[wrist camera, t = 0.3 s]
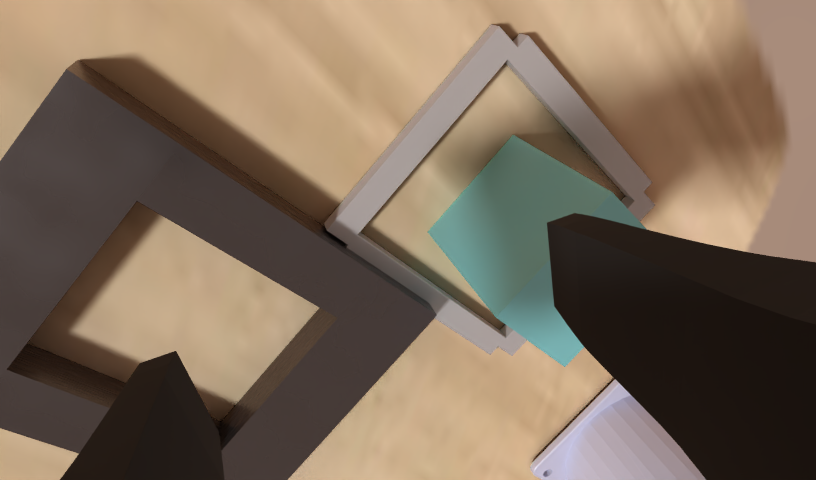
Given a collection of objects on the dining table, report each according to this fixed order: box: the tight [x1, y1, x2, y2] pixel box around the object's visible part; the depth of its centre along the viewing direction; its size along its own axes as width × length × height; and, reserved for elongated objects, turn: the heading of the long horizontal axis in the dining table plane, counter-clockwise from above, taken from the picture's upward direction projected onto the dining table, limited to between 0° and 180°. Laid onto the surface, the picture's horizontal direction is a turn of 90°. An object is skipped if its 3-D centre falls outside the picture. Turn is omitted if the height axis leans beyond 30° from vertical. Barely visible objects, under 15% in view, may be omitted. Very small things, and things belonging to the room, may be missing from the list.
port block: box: [0, 60, 437, 480], centre depth 19 cm, size 14×11×2 cm
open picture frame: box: [324, 24, 655, 356], centre depth 22 cm, size 11×10×1 cm
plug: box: [428, 135, 647, 367], centre depth 19 cm, size 4×5×6 cm
